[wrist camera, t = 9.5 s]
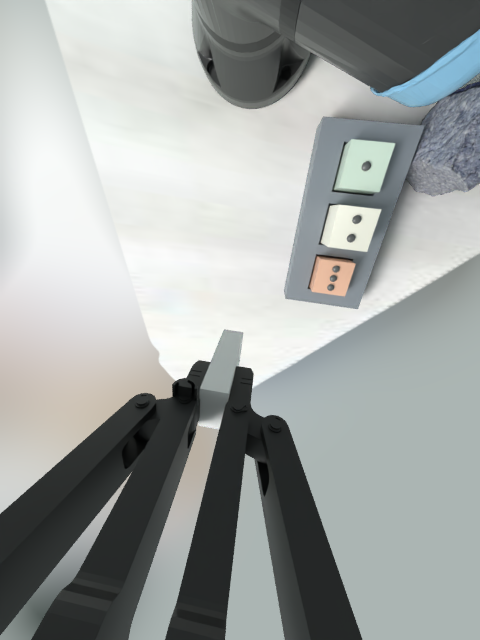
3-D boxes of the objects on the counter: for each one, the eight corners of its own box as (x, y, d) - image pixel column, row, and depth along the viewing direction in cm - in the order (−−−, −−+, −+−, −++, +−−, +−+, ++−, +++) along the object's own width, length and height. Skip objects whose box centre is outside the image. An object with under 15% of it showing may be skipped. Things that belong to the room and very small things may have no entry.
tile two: (329, 205, 32) (339, 204, 27) (366, 210, 32) (382, 209, 27) (320, 242, 34) (328, 247, 30) (354, 246, 34) (367, 252, 29)
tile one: (340, 149, 31) (352, 138, 27) (377, 153, 31) (396, 142, 26) (329, 191, 33) (339, 187, 29) (364, 195, 33) (380, 192, 28)
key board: (316, 128, 32) (323, 116, 28) (404, 137, 31) (424, 125, 27) (284, 290, 42) (285, 298, 38) (349, 299, 42) (357, 309, 38)
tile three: (314, 253, 37) (320, 259, 33) (345, 257, 37) (356, 264, 32) (307, 282, 40) (312, 292, 35) (336, 286, 39) (345, 296, 34)
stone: (442, 95, 30) (514, 131, 29) (383, 174, 36) (440, 208, 35) (472, 44, 21) (582, 94, 19) (386, 162, 27) (464, 208, 25)
